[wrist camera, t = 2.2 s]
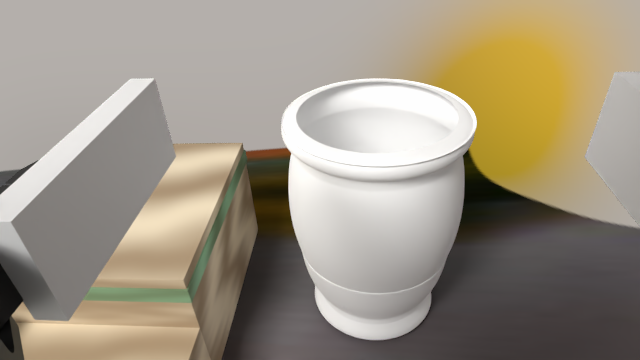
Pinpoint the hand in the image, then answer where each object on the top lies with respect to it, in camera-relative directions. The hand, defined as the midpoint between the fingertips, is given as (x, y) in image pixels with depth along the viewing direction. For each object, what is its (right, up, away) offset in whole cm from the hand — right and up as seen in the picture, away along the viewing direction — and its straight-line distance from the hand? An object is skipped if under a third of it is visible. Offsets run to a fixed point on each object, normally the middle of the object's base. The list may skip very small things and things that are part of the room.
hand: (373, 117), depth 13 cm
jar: (+2, -11, +20) cm, 22 cm away
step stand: (-15, -12, +19) cm, 27 cm away
